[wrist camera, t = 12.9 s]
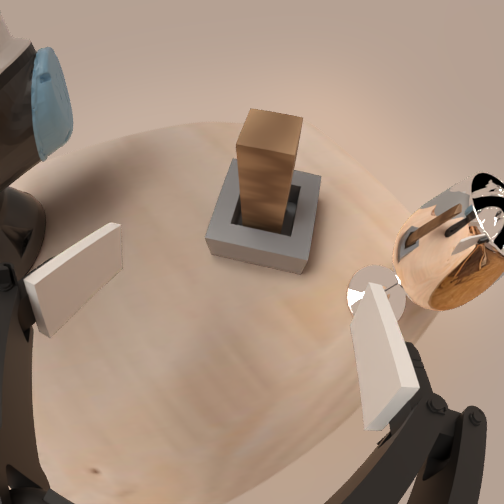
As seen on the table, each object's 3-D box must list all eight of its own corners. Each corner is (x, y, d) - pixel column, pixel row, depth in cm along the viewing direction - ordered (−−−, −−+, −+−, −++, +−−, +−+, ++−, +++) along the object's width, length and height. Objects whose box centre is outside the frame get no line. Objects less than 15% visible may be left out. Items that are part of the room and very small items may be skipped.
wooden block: (243, 232, 31) (235, 144, 18) (252, 201, 33) (250, 108, 20) (279, 240, 31) (294, 155, 18) (286, 209, 32) (303, 117, 19)
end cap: (211, 254, 31) (204, 237, 27) (235, 181, 35) (232, 158, 31) (300, 274, 30) (308, 260, 26) (314, 197, 34) (321, 176, 30)
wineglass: (380, 346, 27) (525, 310, 9) (331, 299, 29) (435, 204, 11) (416, 294, 29) (542, 218, 11) (371, 251, 31) (469, 136, 13)
